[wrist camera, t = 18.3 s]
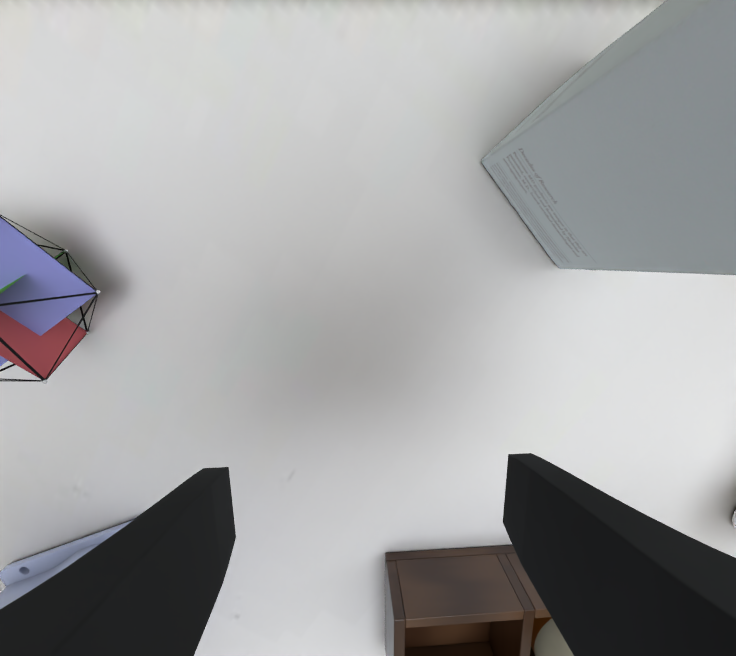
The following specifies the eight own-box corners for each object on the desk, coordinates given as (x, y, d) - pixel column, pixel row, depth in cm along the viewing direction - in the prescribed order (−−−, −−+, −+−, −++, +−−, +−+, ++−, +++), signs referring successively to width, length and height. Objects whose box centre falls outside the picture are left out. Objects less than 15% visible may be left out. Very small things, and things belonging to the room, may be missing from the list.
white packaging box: (556, 273, 18) (981, 304, 6) (475, 160, 17) (819, -98, 5) (669, 179, 18) (1397, 3, 5) (595, 54, 16) (1356, -567, 4)
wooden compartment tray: (385, 646, 23) (393, 728, 19) (385, 552, 21) (393, 620, 17) (589, 630, 24) (638, 705, 20) (603, 539, 22) (659, 600, 18)
